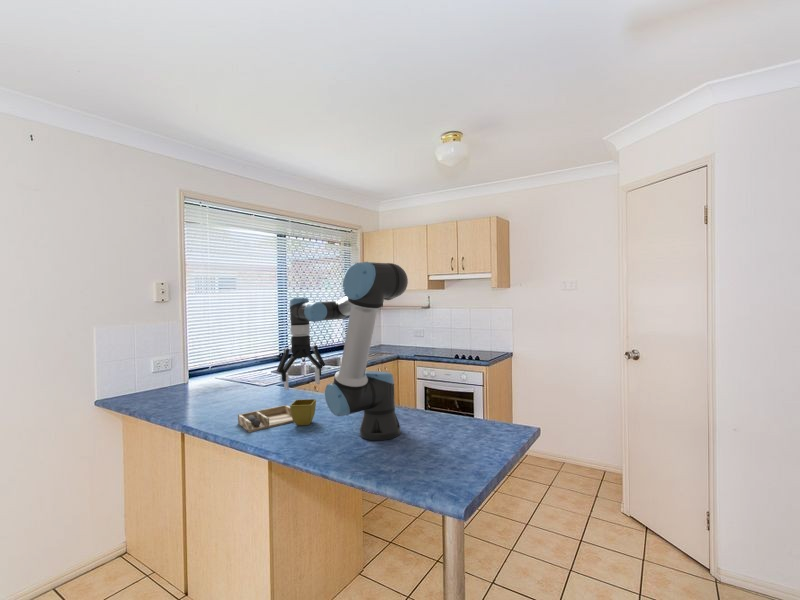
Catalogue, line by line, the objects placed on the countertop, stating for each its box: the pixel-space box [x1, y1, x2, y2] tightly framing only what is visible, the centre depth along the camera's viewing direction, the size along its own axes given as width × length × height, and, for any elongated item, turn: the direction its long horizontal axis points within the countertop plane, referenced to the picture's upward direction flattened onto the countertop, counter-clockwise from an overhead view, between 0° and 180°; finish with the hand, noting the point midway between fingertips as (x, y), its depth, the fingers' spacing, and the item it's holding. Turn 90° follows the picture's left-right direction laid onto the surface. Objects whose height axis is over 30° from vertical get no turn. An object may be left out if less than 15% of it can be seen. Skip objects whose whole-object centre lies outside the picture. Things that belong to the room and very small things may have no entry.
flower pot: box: [289, 398, 317, 426], centre depth 164 cm, size 9×9×9 cm
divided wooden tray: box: [237, 404, 294, 433], centre depth 168 cm, size 15×21×4 cm
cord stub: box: [247, 415, 260, 426], centre depth 163 cm, size 11×3×3 cm, turn 38°
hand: (302, 386), depth 164 cm, fingers open, 13 cm apart
